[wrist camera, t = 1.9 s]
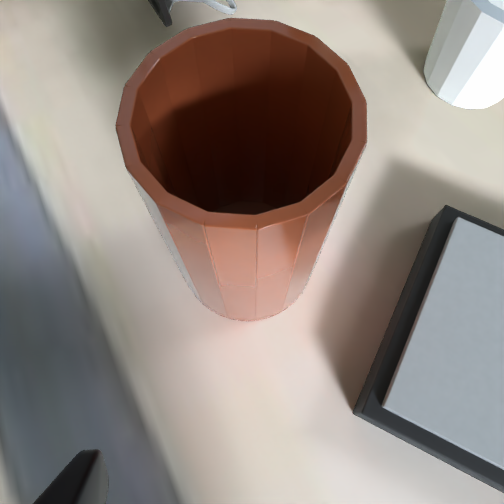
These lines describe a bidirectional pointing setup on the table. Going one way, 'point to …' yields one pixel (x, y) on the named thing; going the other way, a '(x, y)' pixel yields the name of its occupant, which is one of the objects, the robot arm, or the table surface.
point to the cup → (243, 156)
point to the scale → (447, 351)
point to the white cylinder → (468, 54)
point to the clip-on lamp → (163, 3)
